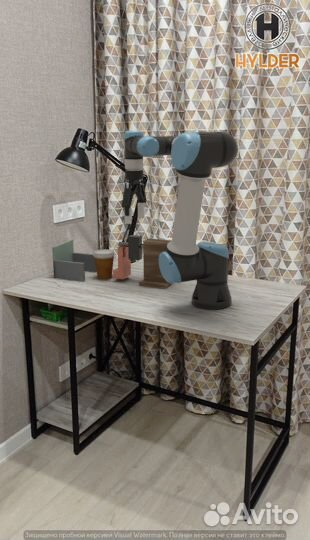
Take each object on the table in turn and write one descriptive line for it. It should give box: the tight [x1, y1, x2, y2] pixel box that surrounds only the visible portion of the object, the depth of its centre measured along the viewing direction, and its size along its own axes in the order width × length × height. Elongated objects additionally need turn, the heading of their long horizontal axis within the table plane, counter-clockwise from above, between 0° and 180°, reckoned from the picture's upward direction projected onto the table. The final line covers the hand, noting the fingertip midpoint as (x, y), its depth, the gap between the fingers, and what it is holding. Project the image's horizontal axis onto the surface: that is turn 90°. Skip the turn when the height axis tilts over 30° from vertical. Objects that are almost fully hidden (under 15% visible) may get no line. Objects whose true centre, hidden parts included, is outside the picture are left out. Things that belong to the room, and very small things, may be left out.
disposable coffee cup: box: [92, 248, 116, 281], centre depth 235 cm, size 10×10×12 cm
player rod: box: [112, 234, 143, 280], centre depth 226 cm, size 8×30×18 cm, turn 69°
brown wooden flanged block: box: [138, 238, 174, 290], centre depth 225 cm, size 12×12×19 cm
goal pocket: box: [51, 239, 97, 282], centre depth 240 cm, size 16×15×14 cm
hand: (134, 220), depth 224 cm, fingers open, 13 cm apart
